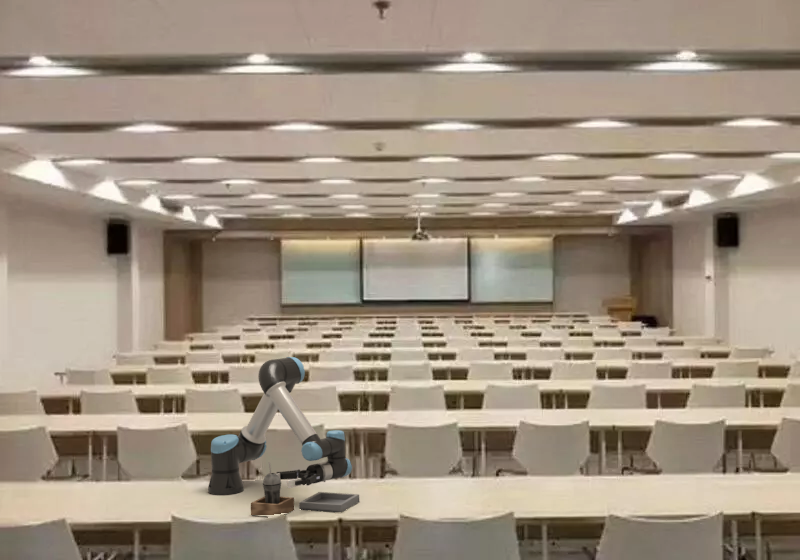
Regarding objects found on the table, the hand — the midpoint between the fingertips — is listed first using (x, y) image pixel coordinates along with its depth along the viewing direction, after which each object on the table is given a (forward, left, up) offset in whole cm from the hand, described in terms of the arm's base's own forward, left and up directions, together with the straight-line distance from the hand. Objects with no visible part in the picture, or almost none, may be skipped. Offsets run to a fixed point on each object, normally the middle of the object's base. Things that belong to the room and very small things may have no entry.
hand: (276, 482), depth 383 cm
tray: (+16, +15, -12) cm, 24 cm away
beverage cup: (-1, -1, -12) cm, 12 cm away
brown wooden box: (-1, -1, -12) cm, 12 cm away
